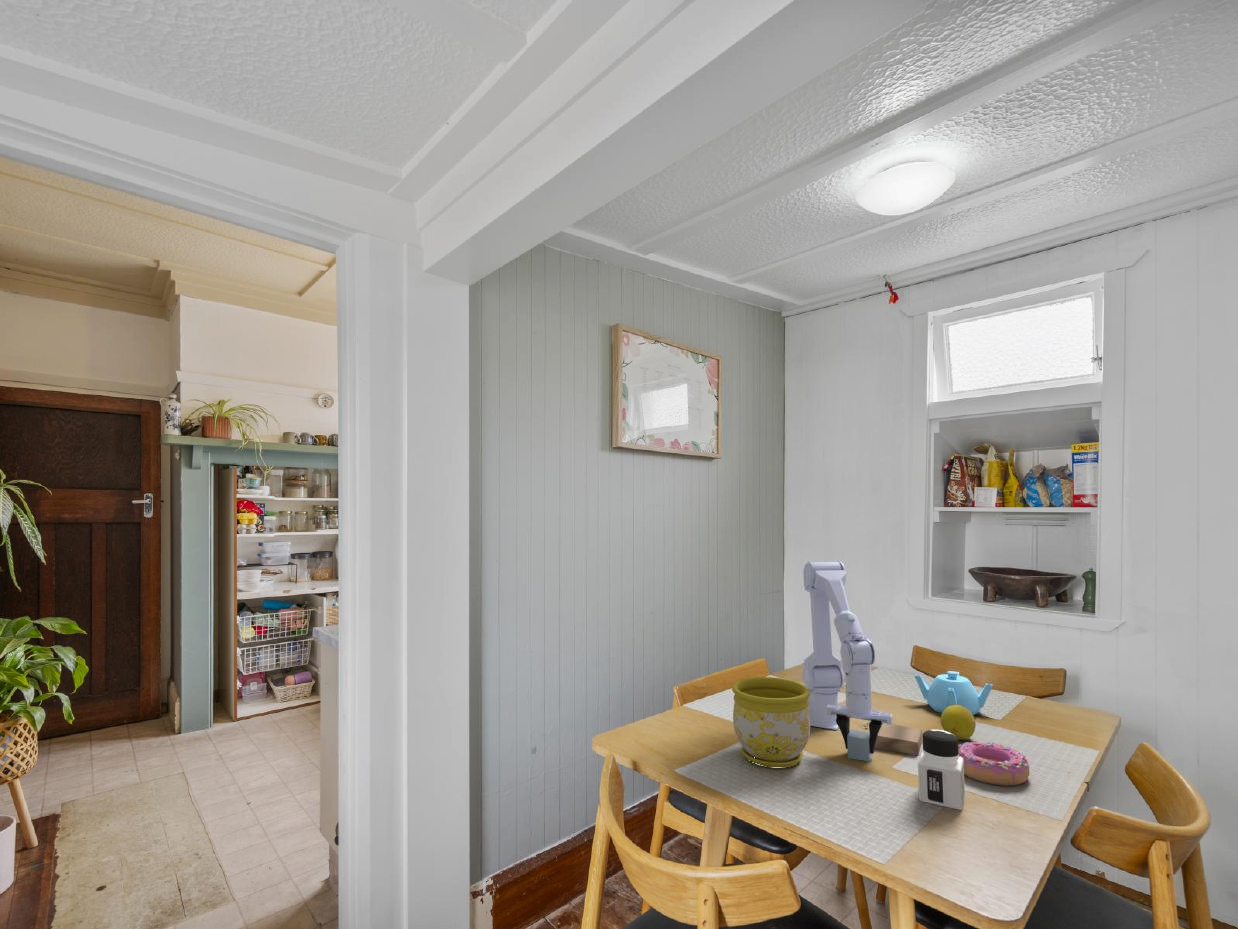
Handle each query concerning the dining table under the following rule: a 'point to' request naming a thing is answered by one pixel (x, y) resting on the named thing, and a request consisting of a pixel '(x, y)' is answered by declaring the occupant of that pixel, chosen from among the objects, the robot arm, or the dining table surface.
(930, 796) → the container
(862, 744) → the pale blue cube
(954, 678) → the teapot
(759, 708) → the flowerpot
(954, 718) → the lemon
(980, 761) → the donut
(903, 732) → the walnut block
